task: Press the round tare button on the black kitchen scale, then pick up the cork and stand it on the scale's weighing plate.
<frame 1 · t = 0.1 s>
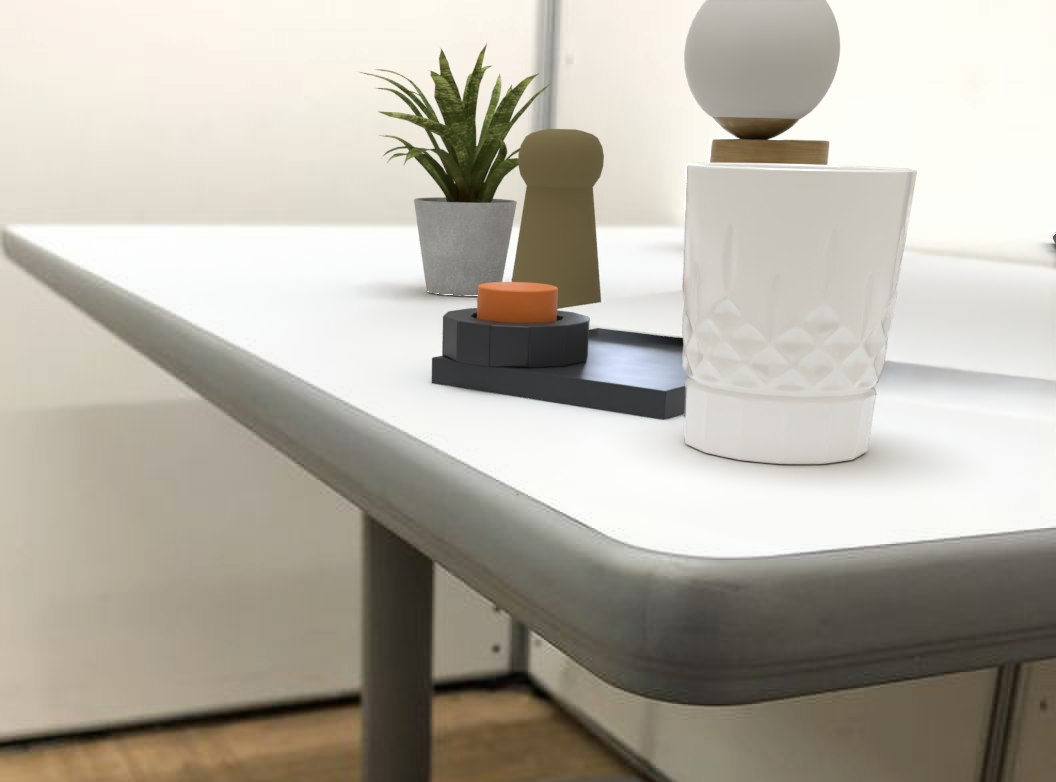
tare button: (517, 305, 63), point 3 cm above the table, slide at 0.1 cm
house plant: (454, 292, 100), on the table
scale: (625, 381, 65), on the table
cork: (554, 317, 88), on the table
lamp: (747, 254, 137), on the table
white cup: (772, 451, 53), on the table
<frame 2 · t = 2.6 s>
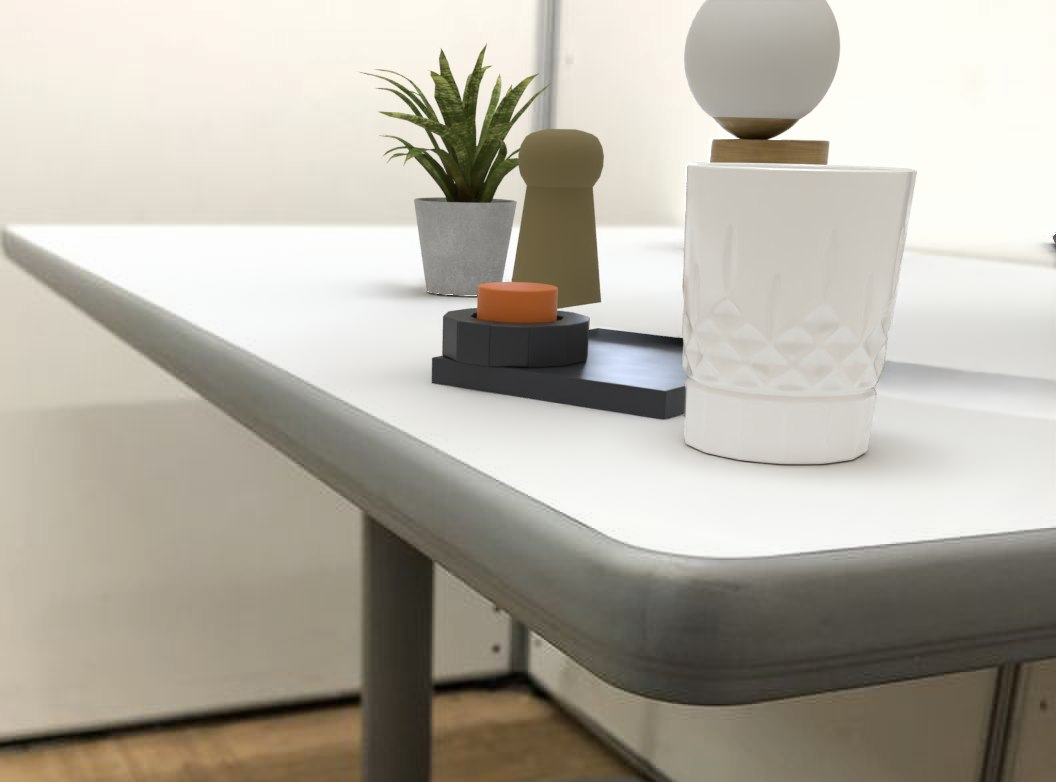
nothing on the table moved.
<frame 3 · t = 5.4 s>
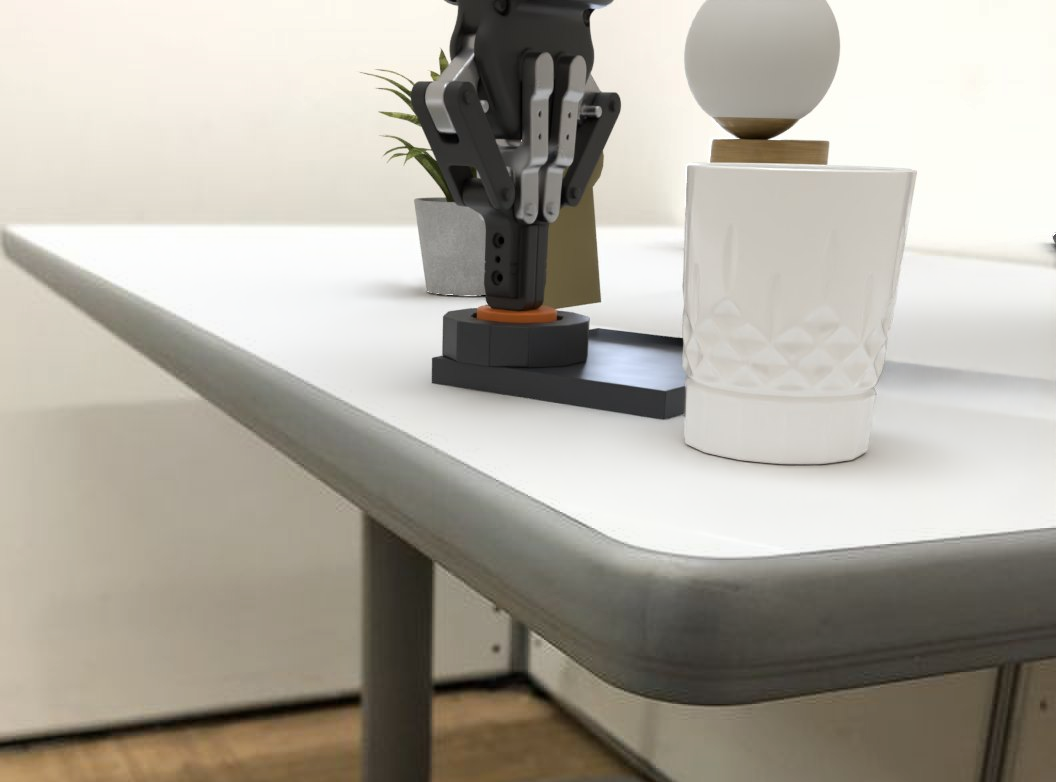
hand: (514, 308, 63), 3 cm above the table, tool pointing down, fingers closed
tare button: (516, 327, 64), point 2 cm above the table, slide at -0.9 cm, touching gripper
everything else where it was.
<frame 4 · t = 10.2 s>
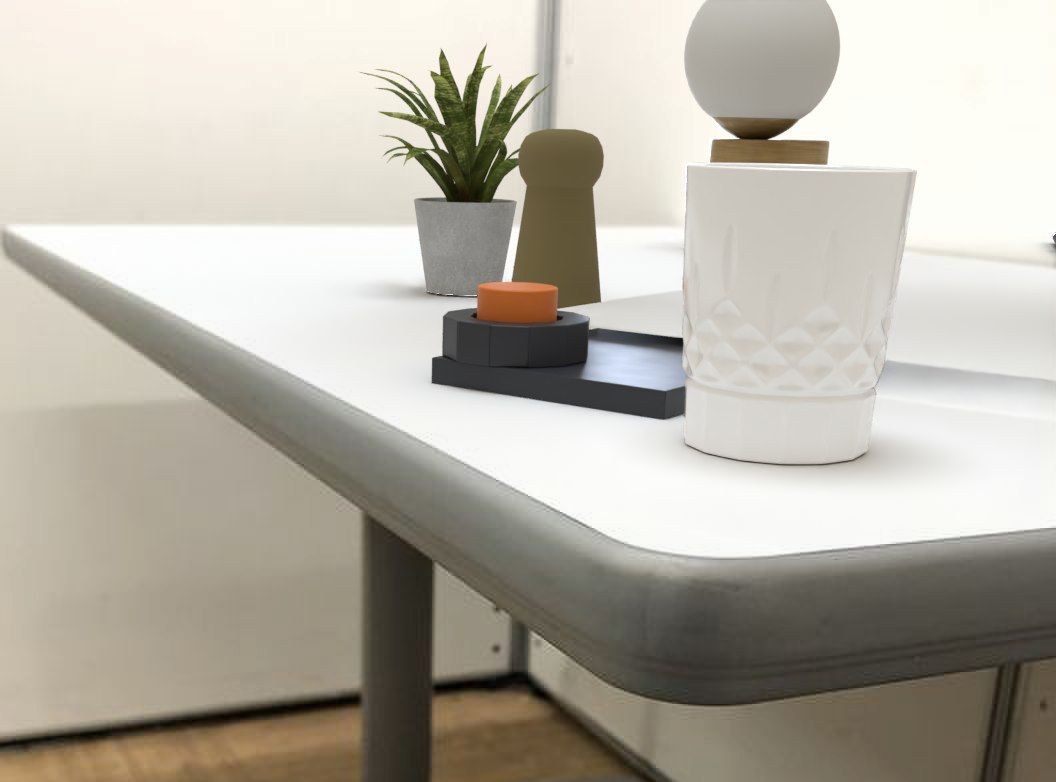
tare button: (517, 305, 63), point 3 cm above the table, slide at 0.1 cm
everything else where it was.
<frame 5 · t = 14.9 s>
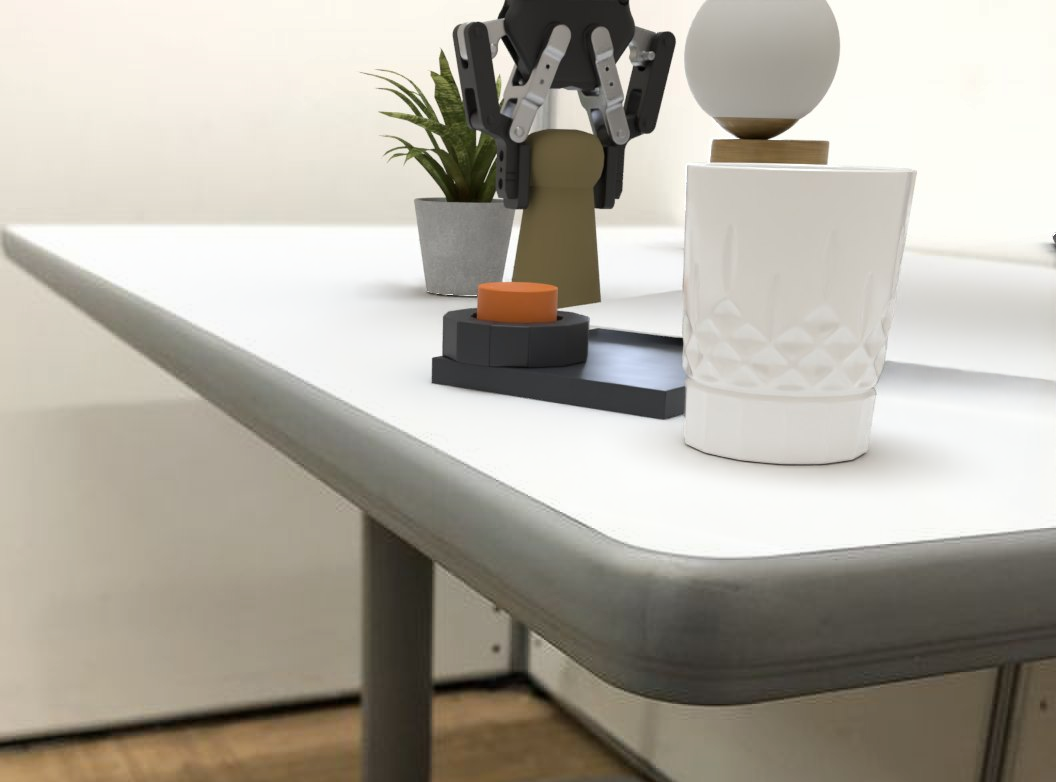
hand: (558, 207, 86), 6 cm above the table, tool pointing down, fingers closed on cork, 5 cm apart
cork: (554, 317, 88), on the table, touching gripper
everything else where it was.
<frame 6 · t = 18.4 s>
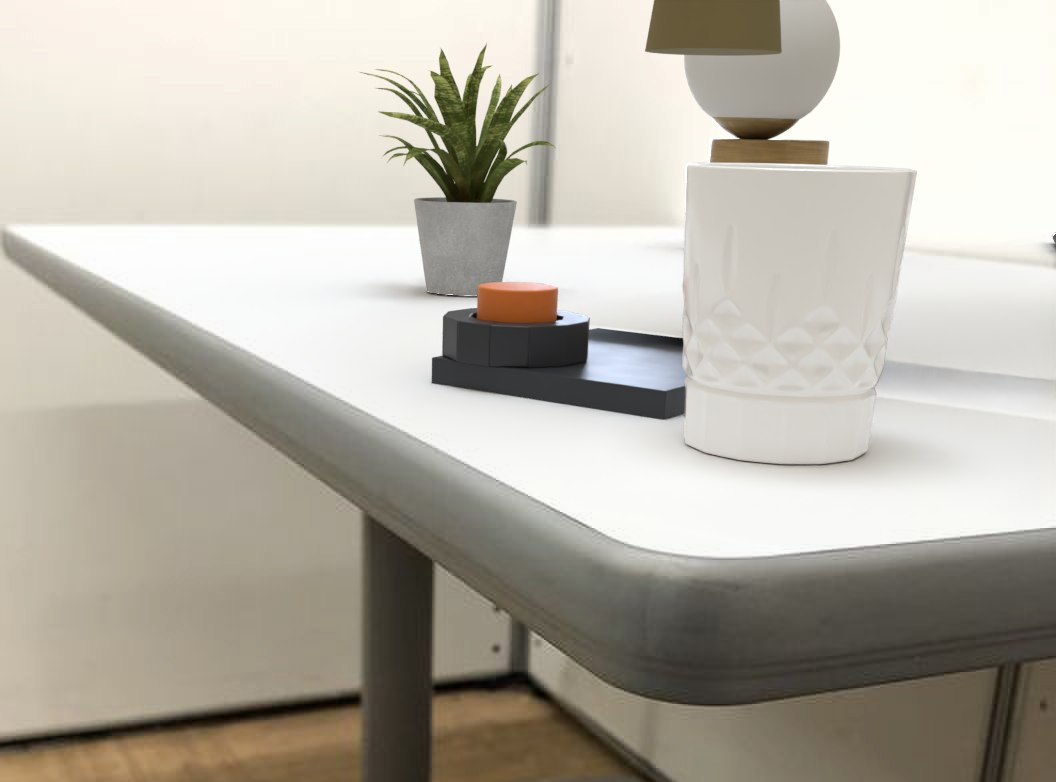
cork: (712, 56, 63), point 14 cm above the table, touching gripper
everything else where it was.
when the fingers open (8 cm above the table, at t = 22.2 s): cork stays where it is, resting on scale.
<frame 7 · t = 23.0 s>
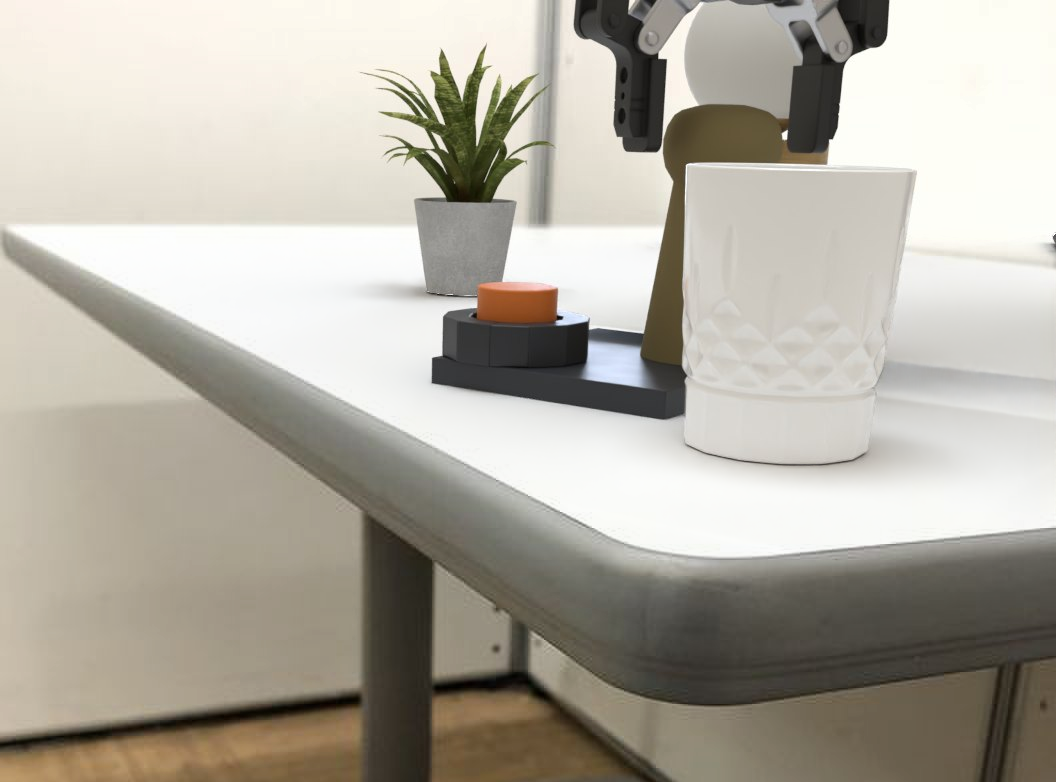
hand: (725, 152, 62), 10 cm above the table, tool pointing down, fingers open, 8 cm apart
cork: (705, 361, 65), point 1 cm above the table, touching scale
everything else where it was.
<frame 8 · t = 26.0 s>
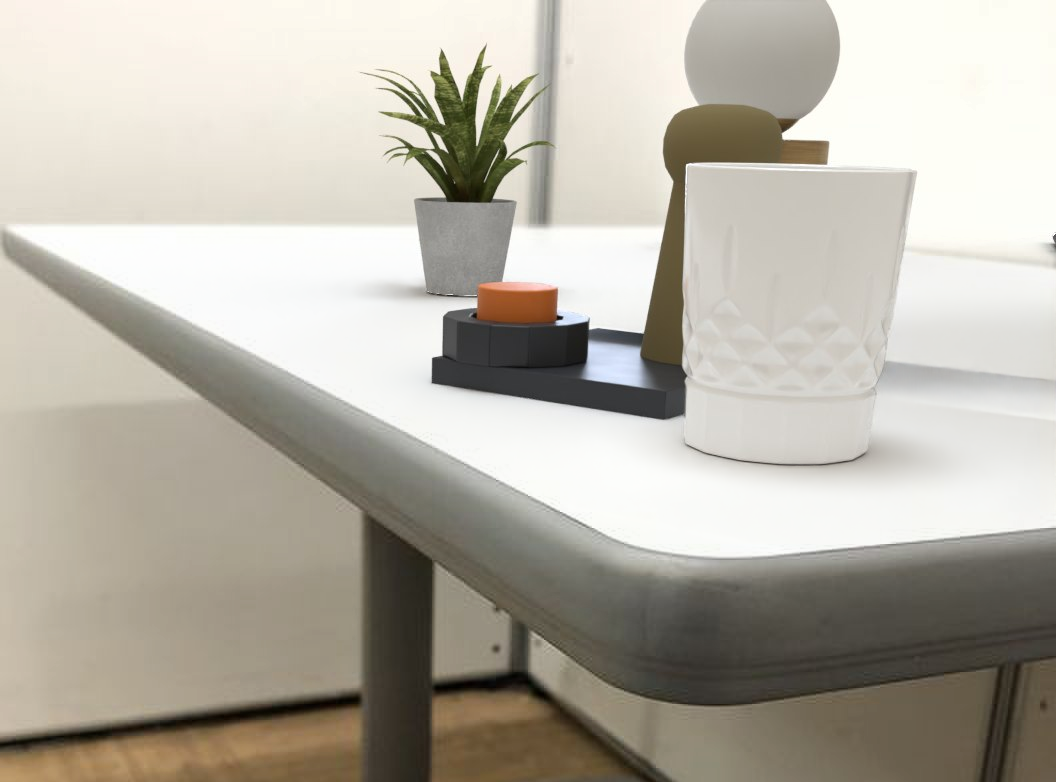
nothing on the table moved.
at the end: tare button pushed in 1.1 cm at the most during the clip, back to where it started at the end; cork inside the target area on the scale (3.6 cm from its centre), point 1.0 cm above the scale's base; cork touching scale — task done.
